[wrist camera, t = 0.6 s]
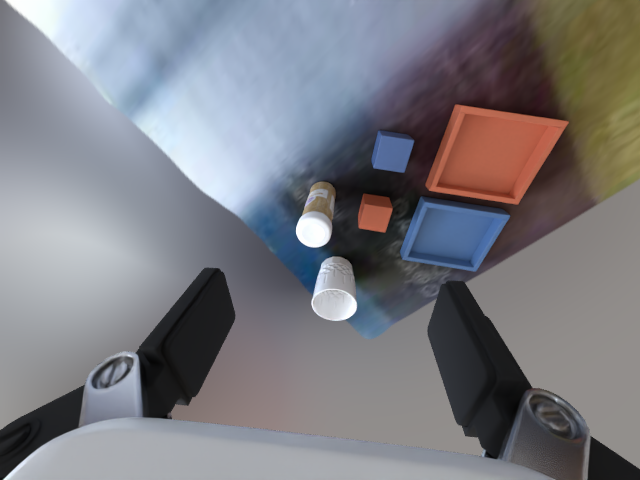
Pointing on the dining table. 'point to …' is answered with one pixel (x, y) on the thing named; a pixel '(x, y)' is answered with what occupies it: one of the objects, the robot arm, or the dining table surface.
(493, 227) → the slate-blue tray
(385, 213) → the terracotta block
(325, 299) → the white cup
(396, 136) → the slate-blue block
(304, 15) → the dining table surface
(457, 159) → the terracotta tray
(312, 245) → the sprinkles bottle
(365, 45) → the dining table surface
